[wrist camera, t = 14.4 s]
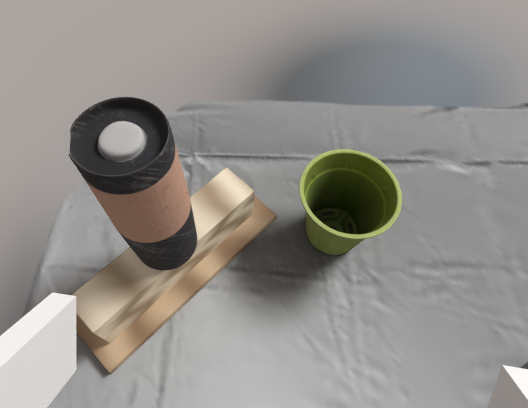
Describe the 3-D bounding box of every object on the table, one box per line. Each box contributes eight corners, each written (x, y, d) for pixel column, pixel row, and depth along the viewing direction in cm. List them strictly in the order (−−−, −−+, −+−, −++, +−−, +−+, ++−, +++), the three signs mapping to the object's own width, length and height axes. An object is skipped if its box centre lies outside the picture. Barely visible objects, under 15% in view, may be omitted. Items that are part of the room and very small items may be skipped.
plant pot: (329, 290, 52) (348, 258, 43) (273, 223, 57) (278, 180, 47) (393, 240, 56) (424, 200, 46) (336, 181, 60) (353, 133, 51)
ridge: (226, 175, 60) (224, 147, 54) (276, 218, 57) (279, 193, 51) (62, 312, 50) (36, 296, 44) (111, 373, 47) (91, 365, 41)
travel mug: (213, 235, 48) (192, 125, 30) (170, 286, 45) (119, 197, 27) (164, 201, 50) (118, 80, 32) (119, 248, 47) (41, 143, 29)
